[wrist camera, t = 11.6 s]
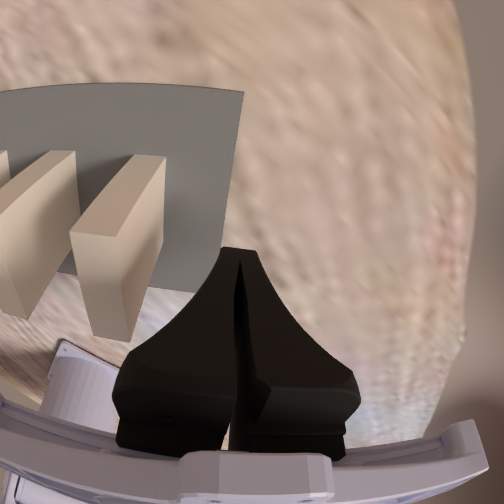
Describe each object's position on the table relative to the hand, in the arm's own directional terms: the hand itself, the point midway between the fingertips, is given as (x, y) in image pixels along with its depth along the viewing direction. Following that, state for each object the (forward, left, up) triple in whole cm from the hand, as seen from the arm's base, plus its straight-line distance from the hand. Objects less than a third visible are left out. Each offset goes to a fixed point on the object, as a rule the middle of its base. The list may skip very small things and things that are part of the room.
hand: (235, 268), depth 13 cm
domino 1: (-5, +8, -5) cm, 11 cm away
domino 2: (-2, +4, -5) cm, 7 cm away
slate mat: (-7, +13, -5) cm, 15 cm away
